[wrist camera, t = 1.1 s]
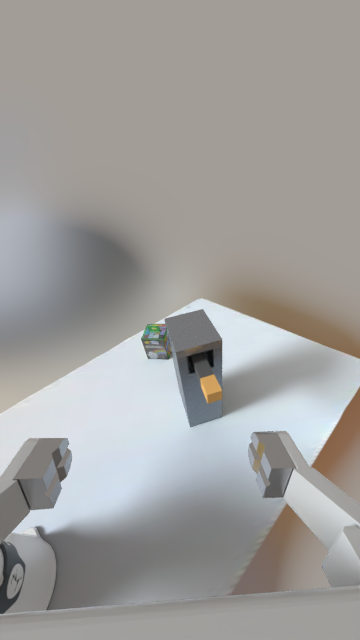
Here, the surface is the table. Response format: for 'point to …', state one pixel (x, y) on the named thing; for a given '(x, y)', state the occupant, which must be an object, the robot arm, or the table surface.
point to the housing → (185, 340)
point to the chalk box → (156, 341)
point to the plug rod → (206, 378)
